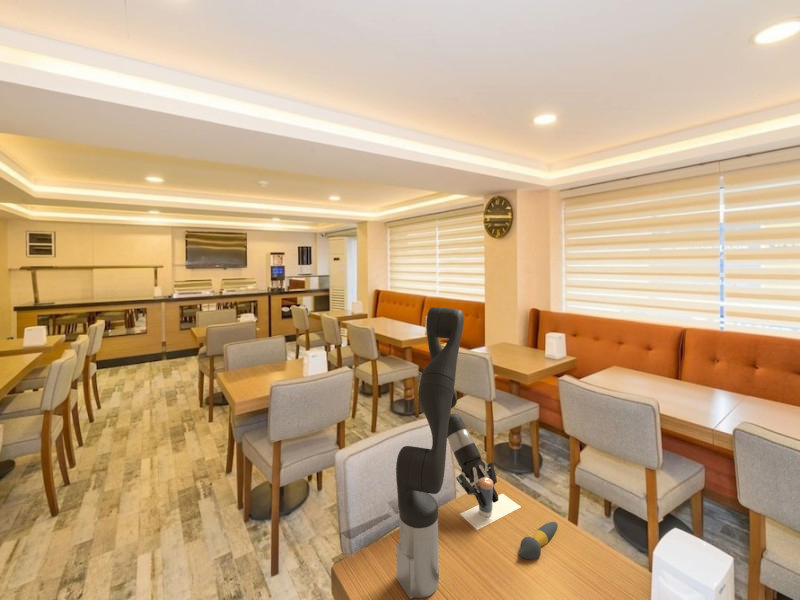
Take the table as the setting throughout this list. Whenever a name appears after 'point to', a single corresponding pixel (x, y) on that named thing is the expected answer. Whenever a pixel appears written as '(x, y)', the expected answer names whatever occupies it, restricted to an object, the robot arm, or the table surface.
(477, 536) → the table surface
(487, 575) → the table surface
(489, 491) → the peach capped blue cylinder
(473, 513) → the whiteboard
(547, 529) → the paintbrush
